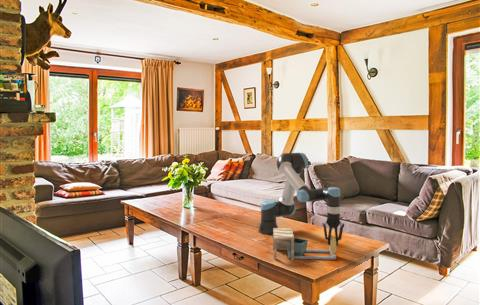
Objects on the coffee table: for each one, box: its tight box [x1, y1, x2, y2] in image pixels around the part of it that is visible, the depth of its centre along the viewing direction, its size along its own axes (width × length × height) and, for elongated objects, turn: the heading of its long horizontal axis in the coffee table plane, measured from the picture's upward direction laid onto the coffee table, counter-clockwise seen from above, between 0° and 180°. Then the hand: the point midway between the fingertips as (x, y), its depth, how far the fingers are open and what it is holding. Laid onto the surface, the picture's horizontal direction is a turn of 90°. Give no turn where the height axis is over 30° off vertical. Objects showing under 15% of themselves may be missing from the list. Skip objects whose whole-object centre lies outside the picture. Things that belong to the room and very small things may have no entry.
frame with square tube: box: [286, 234, 337, 261], centre depth 222 cm, size 14×28×12 cm, turn 86°
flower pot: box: [289, 237, 308, 256], centre depth 223 cm, size 9×9×9 cm
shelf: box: [272, 227, 295, 261], centre depth 224 cm, size 19×12×14 cm, turn 176°
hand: (332, 250), depth 221 cm, fingers closed on frame with square tube, 2 cm apart
